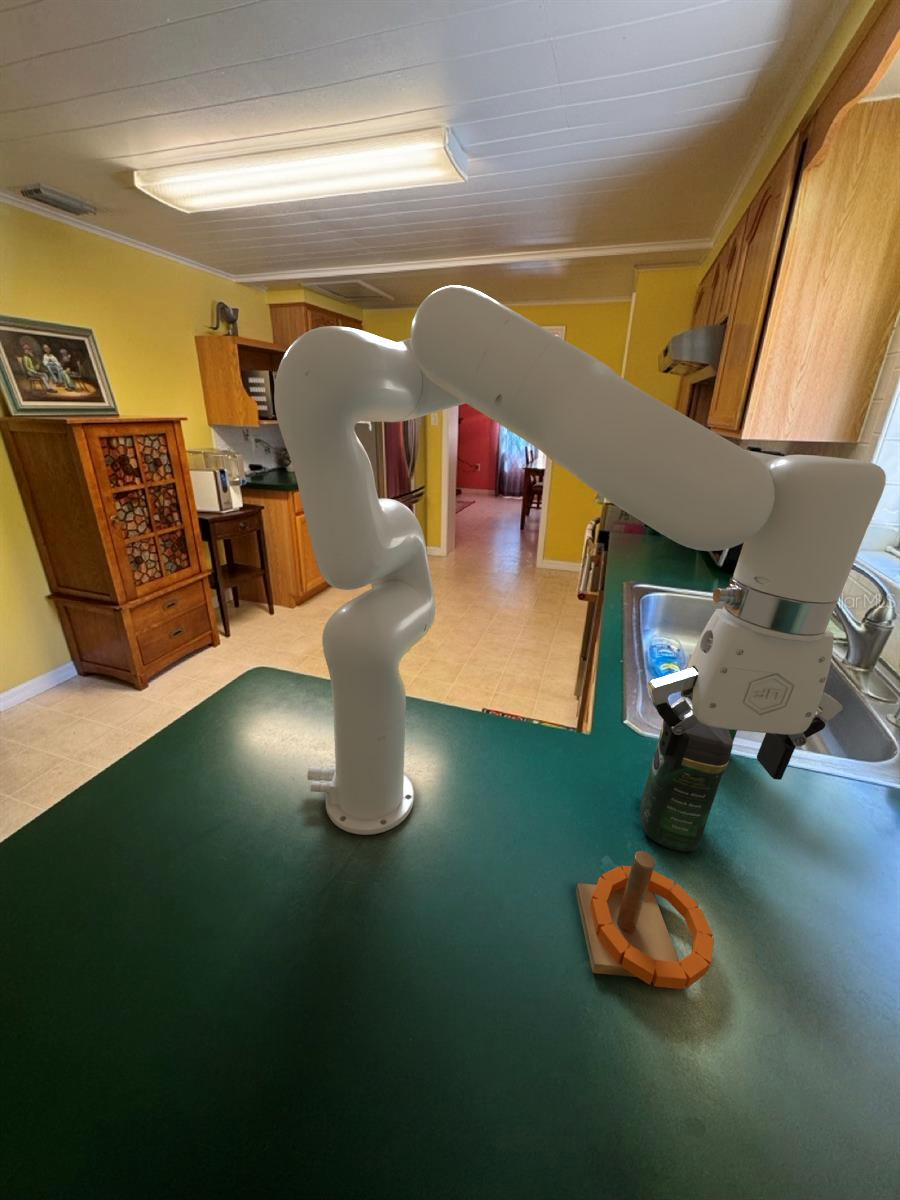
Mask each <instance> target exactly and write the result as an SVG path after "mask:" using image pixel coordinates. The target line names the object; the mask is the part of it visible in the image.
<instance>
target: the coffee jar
mask: <svg viewBox="0 0 900 1200" xmlns="http://www.w3.org/2000/svg"><path fill="white" fill-rule="evenodd" d="M690 711H691V709H689V710H687V711H686V712H684V713H683V714H681V715H680V716H679V717H680V718H681V717H683V716H684V715H686V714H687V713H688V712H690ZM665 723H666V722H665V721H664V720H663V719H662V723H661V729H660V732H659V738H658V742H657V745H656V748H655V749H656V750H655V752H654V756H653V759H652V761H651V762H652V763H651V766H650V769H649V773H648V776H647V780H646V783H645V786H644V788H643V793H642V796H641V799H640V806H639V816H640V823H641V827H642V830H643V832H644V834H645V835H646V836H647V837H648V838H649V839H651V840H652V841H653V842H655V843H657V844H658V845H660V846H663V847H665V848H667V849H670V850H674V851H678V852H693V851H695V850H696V849H698V848H699V846H700V844H701V840H702V838H703V836H704V835H703V834H704V832H705V829H706V825H707V822H708V819H709V816H710V813H711V811H712V810H711V809H712V806H713V804H714V800H715V798H716V795H717V792H718V790H719V787H720V783H721V782H722V781H721V780H722V778H723V775H724V773H725V771H726V768H727V767H728V765H729V762H730V758H731V754H732V752H733V746H734V742H733V743H732V738H731V735H730V732H729V730H728V729H721V728H714V727H709V726H706V725H704V724H702V723H699V724H697V725H696V726H694V727H693V728H691V729H690V730H688V731H687V732H686V733H687V735H688V736H689V742H688V745H687V748H686V751H685V754H684V757H683V760H682V763H681V766H680V768H678V769H671V767H670V766H669V764H668V762H667V760H666V758H665V756H664V755H662V753H661V751H660V748H659V743H660V740H661V736H662V733H663V730H664V726H665Z"/></svg>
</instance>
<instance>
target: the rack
mask: <svg viewBox="0 0 900 1200" xmlns="http://www.w3.org/2000/svg"><path fill="white" fill-rule="evenodd" d="M655 865H656V860H655V858H654V857H653V855H652V854H651V853H649V852H647V851H645V850H638V851H636V852H635V854H634V857H633V860H632V864H631V866H632V867H631V871H630V874H629V878H628V881H627V885H626V887H623V888H622V889H620V890H618V891H616V892H614V893H612V894H610V897H609V900H608V903H607V904H608V908H609V911H610V915H611V919H612V923H613V924H614V926H615V927H616V928H617V929H618V931H619V932H620V933H621V934H622V936H623V937H624V938H625V939H626V941H627V942H628V943H629V944H630V945H631V946H633V947H634V948H636V949H638V950H639V951H641V952H643V953H645V954H646V955H648V956H650V957H651V958H653V959H655V960H665V961H676V962H679V961H680V960H679V958H678V955H677V953H676V950H675V947H674V944H673V942H672V939H671V936H670V934H669V930H668V927H667V925H666V922H665V920H664V917H663V914H662V911H661V910H660V906H659V904H658V901H657V899H656V896H655V895H656V894H655V893H653V892H651V891H649V890H647V889H648V886H649V883H650V880H651V876H652V873H653V871H655ZM596 885H597V884H591V883H581V882H580V883H579V882H577V884H576V887H575V888H576V889H575V896H576V900H577V906H578V910H579V915H580V920H581V924H582V928H583V929H582V930H583V933H584V937H585V943H586V944H585V945H586V947H587V948H586V949H587V952H588V957H589V963H590V969H591V972H592V973H593V974H600V975H610V976H611V975H612V976H622V977H633V978H638V977H637V976H635V975H633V974H632V973H630V972H629V971H627V970H625V969H624V968H622V967H621V964H622V961H623V960H622V961H621V962H619V963H617V962H616V961H615V959H614V958H613V957H612V955H611V954H610V953H609V952H608V950H607V949H606V948H605V946H604V945H603V944H602V942H601V941H600V940H599V938H598V935H599V934H596V931H595V927H594V922H593V918H592V914H591V909H590V907H591V905H590V904H591V900H592V896H593V893H594V890H595V888H596Z"/></svg>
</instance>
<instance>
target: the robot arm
mask: <svg viewBox="0 0 900 1200" xmlns="http://www.w3.org/2000/svg"><path fill="white" fill-rule="evenodd" d="M276 372H277V373H276V377H275V382H274V393H273V401H274V411H275V416H276V420H277V424H278V427H279V431H280V434H281V437H282V440H283V443H284V445H285V448H286V451H287V454H288V456H289V459H290V463H291V465H292V469H293V471H294V476H295V478H296V483H297V487H298V493H299V498H300V502H301V505H302V511H303V514H304V518H305V519H304V520H305V523H306V526H307V531H308V535H309V538H310V539H309V540H310V543H311V547H312V552H313V555H314V559H315V563H316V566H317V569H318V572H319V574H320V575H321V577H322V578H323V579H324V581H325V582H326V583H327V584H328V585H329V586H331V587H333V588H335V589H337V590H341V591H352V590H357V589H361V588H363V587H364V588H365V587H366V586H368V585H370V587H371V588H370V589H369V590H366V591H364V592H363V593H361V594H359V595H357V596H356V597H354V598H352V599H351V600H349V601H347V602H346V603H344V604H343V605H341V606H340V607H338V609H336V610H335V612H334V613H332V615H331V616H330V617H329V618H328V620H327V622H326V623H325V625H324V627H323V630H322V637H321V645H322V650H323V655H324V659H325V663H326V666H327V669H328V674H329V680H330V687H331V697H332V699H331V700H332V715H333V731H334V732H333V734H334V735H333V736H334V737H333V738H334V761H335V763H334V765H332V766H330V768H329V767H323V766H316V765H315V766H313V765H311V766H309V768H308V770H307V775H306V776H307V780H308V781H312V782H311V784H310V792H313V793H314V792H315V793H325V794H326V795H325V810H326V814H327V816H328V817H329V819H330V820H331V821H332V823H333V824H334V825H335V826H337V827H338V828H339V829H341V830H343V831H345V832H347V833H351V834H355V835H362V836H363V835H364V836H367V835H368V836H369V835H376V834H380V833H384V832H387V831H389V830H391V829H392V830H393V828H395V827H397V826H399V825H400V824H401V823H402V822H403V821H404V820H406V818H407V817H408V815H409V814H410V813H411V811H412V809H413V806H414V801H415V791H414V786H413V783H412V781H411V779H409V777H408V776H407V775H406V774H405V745H406V743H405V741H406V714H407V713H406V710H407V709H406V708H407V706H406V705H407V704H406V703H407V696H406V694H407V693H406V687H405V683H404V680H403V678H402V676H401V673H400V663H401V660H402V658H403V657H404V656H405V655H406V654H407V653H409V651H410V650H411V649H412V648H413V647H414V646H415V645H417V644H418V642H420V641H421V640H422V639H423V638H424V637H425V636H426V635H427V634H428V633H429V631H430V630H431V628H432V626H433V624H434V621H435V617H436V600H435V592H434V587H433V586H434V585H433V581H432V575H431V574H432V573H431V568H430V563H429V556H428V551H427V550H428V549H427V545H426V540H425V535H424V532H423V529H422V526H421V524H420V522H419V519H417V517H416V515H415V514H414V512H413V511H412V510H411V509H410V508H409V507H408V506H407V505H405V504H404V503H402V502H400V501H398V500H396V499H392V498H384V497H383V498H379V495H378V492H377V491H378V490H377V486H376V481H375V474H374V469H373V466H372V462H371V460H370V457H369V455H368V453H367V451H366V449H365V447H364V445H363V444H362V442H361V440H360V439H359V437H358V436H357V433H356V431H355V427H356V425H357V424H358V423H360V422H369V423H400V422H405V421H410V420H415V419H418V418H421V417H424V416H428V415H431V414H434V413H437V412H438V413H439V412H442V411H445V410H448V409H451V408H455V407H458V406H461V405H465V404H467V406H469V407H471V408H473V409H474V410H476V411H477V412H479V413H481V414H483V415H484V416H486V417H487V418H489V419H490V420H492V421H494V422H495V423H497V424H499V425H500V426H502V427H504V428H505V429H507V430H508V431H510V432H511V433H512V434H514V435H516V436H517V437H519V438H521V440H524V441H525V442H527V443H528V444H530V445H532V446H533V447H534V448H536V449H538V451H540V452H541V453H543V454H544V455H545V456H546V457H547V458H548V459H549V460H551V461H552V462H553V463H554V464H557V465H558V466H560V467H562V468H563V469H564V470H566V471H567V472H569V473H570V474H571V475H572V476H574V477H575V478H577V479H578V480H579V481H580V482H582V483H583V484H584V485H586V486H587V487H588V488H590V489H591V490H592V491H594V492H596V493H597V494H598V495H600V496H601V497H603V498H604V499H605V500H607V501H608V502H610V503H611V504H613V505H615V506H616V507H618V508H619V509H621V510H623V512H626V514H629V515H630V516H632V517H634V518H635V519H636V520H638V521H640V522H641V523H643V524H645V525H646V526H648V527H649V528H651V529H652V530H654V531H656V532H658V533H659V534H661V535H662V536H664V537H666V538H668V539H669V540H672V541H673V542H674V543H677V544H678V545H681V546H684V547H686V548H688V549H689V548H690V549H693V550H695V551H704V552H714V551H716V552H717V551H724V550H728V549H732V548H734V547H737V546H739V545H741V544H742V546H741V550H740V553H739V557H738V560H737V563H736V566H735V569H734V572H733V576H732V578H730V579H729V582H728V586H727V587H724V588H721V587H720V588H719V587H718V588H715V589H714V591H713V593H712V601H713V603H714V604H719V605H722V606H723V607H722V608H715V611H714V612H713V614H712V615H711V616H710V618H709V620H708V621H707V623H706V625H705V627H704V628H703V630H702V632H701V635H700V636H699V638H698V641H697V643H696V645H695V647H694V649H693V651H692V653H693V654H692V656H691V659H690V661H689V660H688V664H687V667H686V669H683V670H681V671H678V672H675V673H671V674H668V675H665V676H661V677H658V678H655V679H652V680H649V681H648V683H647V689H648V692H649V695H650V698H651V701H652V705H653V706H654V709H655V710H656V712H657V714H658V715H659V716H660V717H661V719H662V721H663V720H664V721H665V722H666V723H665V726H664V730H663V733H662V736H661V740H660V743H659V748H660V751H661V753H662V755H664V756H665V758H666V760H667V762H668V764H669V766H670V767H671V769H678V768H680V766H681V763H682V760H683V757H684V754H685V751H686V748H687V745H688V742H689V736H688V735H687V733H686V732H687V731H688V730H690V729H691V728H693V727H694V726H696V725H697V724H699V723H702V724H704V725H706V726H709V727H714V728H721V729H731V730H737V731H740V732H742V731H743V732H752V733H762V734H765V735H764V737H763V739H762V742H761V745H760V747H759V750H758V752H757V754H756V760H757V761H758V763H759V764H760V765H761V766H762V767H763V769H764V770H765V771H766V772H767V774H768V775H769V776H770V777H771V778H772V779H773V780H778V781H780V780H782V778H783V777H784V774H785V773H786V770H787V767H788V765H789V763H790V761H791V759H792V757H793V754H794V752H795V749H796V747H797V748H798V747H803V746H805V745H806V744H807V741H808V738H809V737H811V736H813V735H815V734H817V733H819V732H821V731H823V730H824V729H825V728H826V723H829V722H830V721H831V720H832V719H834V718H835V717H836V716H837V715H838V714H839V713H841V712H842V710H843V708H844V707H843V705H842V704H841V703H840V702H839V701H837V700H836V699H835V698H834V697H832V695H829V694H828V693H826V692H825V691H824V690H825V687H826V683H827V680H828V677H829V673H830V668H831V664H832V657H833V651H834V637H835V634H834V633H833V632H832V631H831V630H830V629H828V625H829V623H830V621H831V618H832V616H833V614H834V611H835V609H836V606H837V604H838V601H839V600H840V597H841V595H842V592H843V590H844V588H845V585H846V583H847V580H848V578H849V575H850V573H851V570H852V569H853V566H854V564H855V562H856V559H857V557H858V554H859V552H860V549H861V547H862V544H863V542H864V540H865V537H866V535H867V533H868V531H869V530H868V529H869V528H870V525H871V523H872V521H873V519H874V515H875V514H876V511H877V510H878V509H877V508H878V506H879V504H880V501H881V500H882V497H883V493H884V491H885V488H886V484H887V475H886V472H885V470H884V469H883V467H881V466H880V465H877V464H875V463H874V462H869V461H867V460H866V461H865V460H859V459H852V458H843V457H836V456H835V457H834V456H823V455H812V454H788V455H784V456H782V455H775V454H769V453H762V452H759V451H752V450H749V449H748V450H747V449H745V448H742V447H741V446H739V445H738V444H736V443H734V442H732V441H731V440H728V439H727V438H725V437H723V436H721V435H720V434H718V433H716V432H715V431H713V430H711V429H709V428H708V427H706V426H704V425H702V424H701V423H699V422H697V421H696V420H693V419H692V418H690V417H688V416H687V415H685V414H683V412H680V411H678V410H676V409H675V408H673V407H671V406H669V405H667V404H666V403H664V402H663V401H660V400H659V399H657V398H656V397H654V396H652V395H650V393H647V392H645V391H644V390H642V389H640V388H639V387H637V386H635V385H634V384H632V383H631V382H629V381H627V380H626V379H624V378H623V377H622V376H620V374H618V373H617V372H616V371H615V370H614V369H613V368H612V367H610V366H609V365H607V364H606V363H604V362H603V361H601V360H599V359H597V358H596V357H595V356H593V355H592V354H590V353H588V352H586V351H585V350H583V349H580V348H579V347H577V346H575V345H574V344H571V343H570V342H568V341H566V340H565V339H563V338H562V337H559V336H557V335H556V334H554V333H552V332H551V331H549V330H547V329H546V328H544V327H542V326H540V325H538V324H537V323H535V322H533V321H532V320H530V319H528V318H526V317H525V316H523V315H521V314H520V313H518V312H516V311H514V310H513V309H511V308H510V307H508V306H506V305H505V304H503V303H501V302H499V301H497V300H496V299H494V298H492V297H490V296H489V295H487V294H485V293H484V292H481V291H480V290H477V289H474V288H472V287H468V286H463V285H455V284H454V285H447V286H443V287H440V288H438V289H436V290H435V291H432V292H431V293H430V294H428V295H427V296H426V297H425V299H424V300H423V301H422V302H421V304H419V306H418V307H417V310H416V312H415V314H414V316H413V319H412V322H411V327H410V338H406V339H404V340H400V341H393V340H390V339H387V338H384V337H381V336H378V335H376V334H373V333H370V332H368V331H364V330H361V329H357V328H353V327H347V326H339V325H329V326H328V325H327V326H319V327H316V328H313V329H310V330H308V331H307V332H306V331H305V333H302V335H300V336H299V337H298V338H296V339H295V340H294V341H293V342H292V343H291V345H290V346H289V347H288V349H287V350H286V351H285V353H284V354H283V357H282V358H281V361H280V363H279V366H278V369H277V371H276ZM679 692H680V698H679V699H677V700H676V701H675V702H673V703H671V704H670V701H669V697H670V696H671V695H673V694H677V693H679ZM689 709H691V711H690V712H688V713H687V714H686V715H684V716H683V717H681V718H680V717H679V716H680V715H681V714H683V713H684V712H686V711H687V710H689ZM322 781H323V782H322ZM324 781H325V782H324Z"/></svg>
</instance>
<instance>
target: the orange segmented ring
mask: <svg viewBox="0 0 900 1200" xmlns="http://www.w3.org/2000/svg"><path fill="white" fill-rule="evenodd" d="M631 867H632V865H621V866H620V865H619V866H617V867H614V868H612V869H611V870H608V871H605V872H604V873H603V874H601V876H600V877H598V881H597V883H596V884H595V885H596V888H595V890H594V893H593V896H592V900H591V904H590V905H591V907H590V909H591V914H592V918H593V922H594V927H595V931H596V934H599V935H598V938H599V940H600V941H601V942H602V944H603V945H604V946H605V948H606V949H607V950H608V952H609V953H610V954H611V955H612V957H613V958H614V959H615V961H616V962H617V963H619V962H621V961H622V960H623V961H622V964H621V967H622V968H624V969H625V970H627V971H629V972H630V973H632V974H633V975H635V976H637V977H636V978H638V979H640V980H641V981H643V982H645V983H646V984H648V985H652V983H653V986H654V987H659V988H668V989H669V988H670V989H678V990H679V989H680V990H684V989H685V988H686V989H688V988H689V987H691V986H692V985H694V984H695V983H696V982H698V981H699V980H700V979H702V978H703V977H705V976H706V975H707V972H708V971H709V969H710V966H711V964H712V959H713V950H714V941H715V938H714V937H713V936H714V934H713V932H712V929H711V926H710V925H709V922H708V919H707V918H706V916H705V913H704V912H703V909H702V908H699V906H700V905H699V903H697V901H696V900H694V899H693V898H692V896H691V895H690V894H689V893H687V892H686V890H684V889H683V887H682V886H680V885H679V883H676V884H675V881H674V880H672V879H670V878H668V877H666V876H665V875H663V874H660V873H659V872H656V871H655V870H653V873H652V876H651V880H650V883H649V886H648V889H647V890H649V891H651V892H653V893H654V895H657V896H659V897H661V898H663V899H665V900H666V901H667V902H668V903H669V904H670V905H671V906H672V907H673V908H674V909H675V910H676V911H677V913H678V914H680V916H682V917H683V918H684V921H685V923H686V925H687V927H688V930H689V933H690V935H691V937H692V940H693V942H692V948H691V950H692V951H691V952H690V953H689V954H688V955H686V956H685V957H684V958H682V959H680V960H679V962H676V961H665V960H655V959H653V958H651V957H650V956H648V955H646V954H645V953H643V952H641V951H639V950H638V949H636V948H634V947H633V946H631V945H630V944H629V943H628V942H627V941H626V939H625V938H624V937H623V936H622V934H621V933H620V932H619V931H618V929H617V928H616V927H615V926H614V924H613V923H612V919H611V915H610V911H609V908H608V904H607V903H608V900H609V897H610V894H612V893H614V892H616V891H618V890H620V889H622V888H623V887H626V885H627V881H628V878H629V874H630V871H631Z"/></svg>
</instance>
